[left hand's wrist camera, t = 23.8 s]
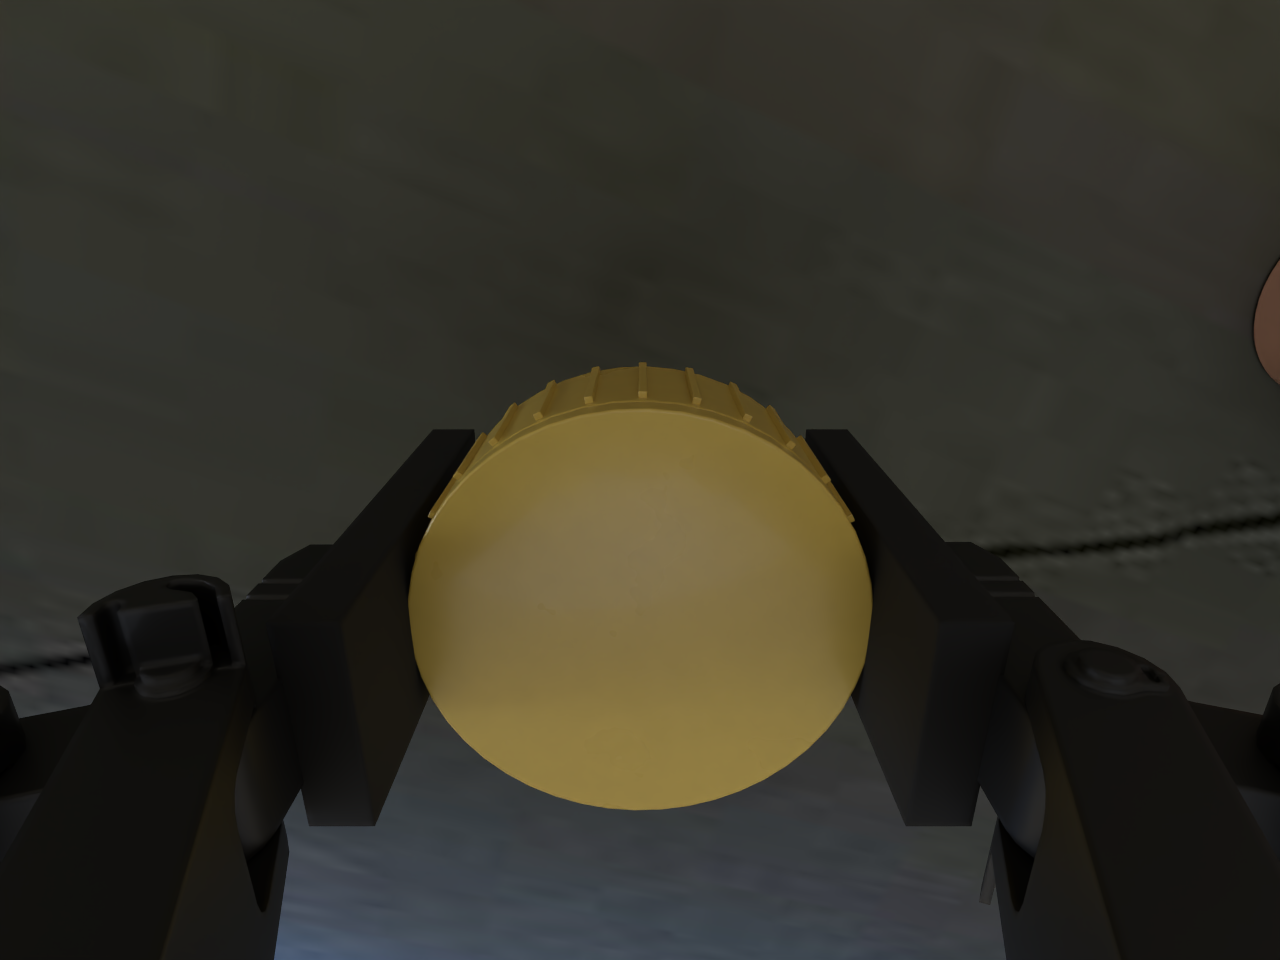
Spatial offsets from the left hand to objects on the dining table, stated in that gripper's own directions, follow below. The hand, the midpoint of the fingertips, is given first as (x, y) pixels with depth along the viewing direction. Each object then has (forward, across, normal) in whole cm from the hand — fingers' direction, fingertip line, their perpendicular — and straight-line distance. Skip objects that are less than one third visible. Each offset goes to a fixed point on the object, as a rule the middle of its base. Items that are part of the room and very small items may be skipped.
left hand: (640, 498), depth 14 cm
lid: (-4, 0, 0) cm, 4 cm away
